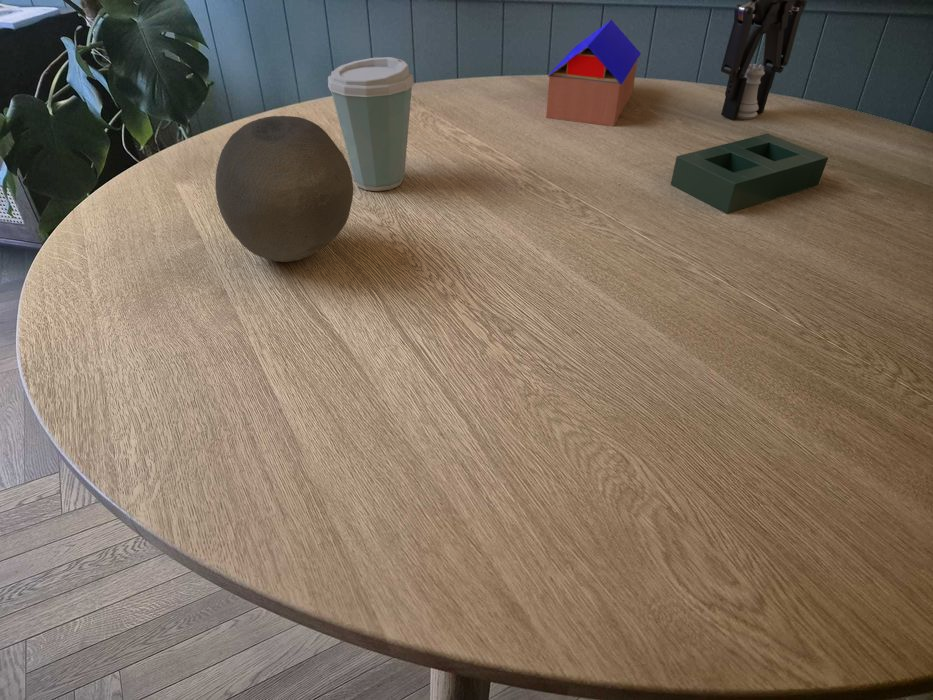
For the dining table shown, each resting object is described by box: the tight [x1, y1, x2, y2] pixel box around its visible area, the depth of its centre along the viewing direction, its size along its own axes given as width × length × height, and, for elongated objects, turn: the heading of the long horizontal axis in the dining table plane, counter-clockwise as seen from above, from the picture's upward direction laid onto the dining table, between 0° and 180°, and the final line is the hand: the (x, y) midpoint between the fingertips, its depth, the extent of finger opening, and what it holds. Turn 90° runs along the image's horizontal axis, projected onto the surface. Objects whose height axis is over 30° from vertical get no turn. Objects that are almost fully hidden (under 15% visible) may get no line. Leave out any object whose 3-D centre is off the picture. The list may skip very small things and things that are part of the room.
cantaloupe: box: [215, 115, 354, 263], centre depth 69 cm, size 14×14×15 cm
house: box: [545, 19, 641, 127], centre depth 112 cm, size 12×20×12 cm, turn 160°
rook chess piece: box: [737, 63, 765, 120], centre depth 109 cm, size 4×4×8 cm
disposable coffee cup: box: [327, 56, 415, 192], centre depth 85 cm, size 11×11×15 cm
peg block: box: [670, 132, 829, 214], centre depth 88 cm, size 18×10×4 cm, turn 120°
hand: (742, 113), depth 112 cm, fingers open, 6 cm apart
